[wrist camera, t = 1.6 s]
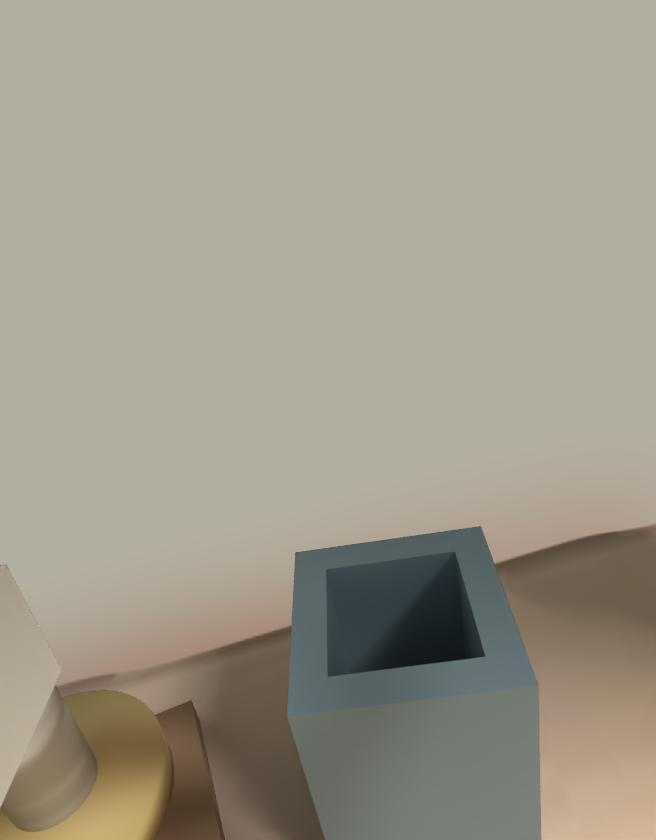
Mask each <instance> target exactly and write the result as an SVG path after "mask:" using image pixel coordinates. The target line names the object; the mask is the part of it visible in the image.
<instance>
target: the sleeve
mask: <svg viewBox="0 0 656 840" xmlns="http://www.w3.org/2000/svg"><path fill="white" fill-rule="evenodd" d="M287 718H288V722H289V725H290V728H291V731H292V735H293V738H294V741H295V744H296V748H297V751H298V754H299V757H300V761H301V764H302V767H303V770H304V774H305V777H306V780H307V783H308V787H309V790H310V793H311V796H312V799H313V803H314V806H315V809H316V812H317V816H318V819H319V822H320V825H321V829H322V832H323V835H324V838H325V840H541V807H540V753H539V700H538V684H537V681H536V678H535V675H534V673H533V670H532V667H531V664H530V661H529V659H528V656H527V653H526V650H525V648H524V645H523V642H522V639H521V637H520V634H519V631H518V628H517V625H516V623H515V620H514V617H513V614H512V612H511V609H510V606H509V603H508V601H507V598H506V595H505V592H504V589H503V587H502V584H501V581H500V578H499V576H498V573H497V570H496V567H495V565H494V562H493V559H492V556H491V553H490V551H489V548H488V545H487V542H486V540H485V537H484V534H483V531H482V529H481V527H480V526H479V527H472V528H465V529H459V530H451V531H444V532H437V533H431V534H423V535H417V536H409V537H402V538H395V539H388V540H381V541H374V542H367V543H360V544H352V545H345V546H338V547H332V548H324V549H317V550H310V551H303V552H296V553H295V573H294V592H293V612H292V629H291V649H290V668H289V687H288V706H287Z"/></svg>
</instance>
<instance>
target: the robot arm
mask: <svg viewBox="0 0 656 840" xmlns="http://www.w3.org/2000/svg"><path fill="white" fill-rule="evenodd" d="M60 673H61V668H60V666H59V664H58V662H57V661H56V658H55V656H54V655H53V653H52V651H51V649H50V647H49V645H48V643H47V641H46V639H45V637H44V635H43V634H42V632H41V630H40V628H39V626H38V624H37V622H36V620H35V618H34V617H33V615H32V613H31V611H30V609H29V607H28V605H27V603H26V601H25V599H24V598H23V596H22V594H21V592H20V590H19V588H18V586H17V585H16V582H15V581H14V578H13V577H12V575H11V573H10V571H9V569H8V567H7V565H6V564H5V565H0V808H1V805H2V803H3V801H4V799H5V796H6V794H7V792H8V790H9V787H10V785H11V783H12V781H13V778H14V776H15V774H16V772H17V769H18V767H19V765H20V763H21V760H22V758H23V756H24V754H25V752H26V749H27V747H28V745H29V743H30V740H31V738H32V736H33V734H34V731H35V729H36V727H37V725H38V722H39V720H40V718H41V716H42V713H43V711H44V709H45V707H46V704H47V702H48V700H49V698H50V695H51V693H52V691H53V689H54V686H55V684H56V682H57V680H58V677H59V675H60Z"/></svg>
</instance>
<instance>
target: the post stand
mask: <svg viewBox="0 0 656 840" xmlns="http://www.w3.org/2000/svg"><path fill="white" fill-rule="evenodd" d="M0 840H225V838H224V833H223V829H222V824H221V819H220V815H219V810H218V805H217V801H216V796H215V792H214V787H213V782H212V778H211V773H210V769H209V764H208V759H207V755H206V750H205V745H204V741H203V736H202V732H201V727H200V722H199V718H198V716H197V713H196V711H195V708H194V706H193V703H192V701H189V702H186V703H184V704H182V705H179V706H177V707H174V708H172V709H170V710H167V711H165V712H163V713H160V714H158V715H156V716H155V715H154V714H153V712H152V711H151V710H150V709H149V708H148V707H147V706H146V705H145V704H144V703H143V702H141V701H140V700H138V699H137V698H135V697H133V696H130V695H128V694H125V693H121V692H117V691H107V690H100V691H88V692H82V693H78V694H74V695H70V696H67V697H64V698H62V696H61V694H60V692H59V691H58V689H57V687H56V685H55V686H54V689H53V691H52V693H51V695H50V698H49V700H48V702H47V704H46V707H45V709H44V711H43V713H42V716H41V718H40V720H39V722H38V725H37V727H36V729H35V731H34V734H33V736H32V738H31V740H30V743H29V745H28V747H27V749H26V752H25V754H24V756H23V758H22V760H21V763H20V765H19V767H18V769H17V772H16V774H15V776H14V778H13V781H12V783H11V785H10V787H9V790H8V792H7V794H6V796H5V799H4V801H3V803H2V805H1V808H0Z"/></svg>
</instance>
